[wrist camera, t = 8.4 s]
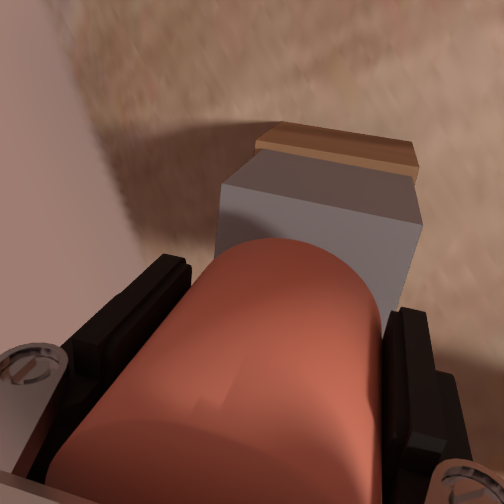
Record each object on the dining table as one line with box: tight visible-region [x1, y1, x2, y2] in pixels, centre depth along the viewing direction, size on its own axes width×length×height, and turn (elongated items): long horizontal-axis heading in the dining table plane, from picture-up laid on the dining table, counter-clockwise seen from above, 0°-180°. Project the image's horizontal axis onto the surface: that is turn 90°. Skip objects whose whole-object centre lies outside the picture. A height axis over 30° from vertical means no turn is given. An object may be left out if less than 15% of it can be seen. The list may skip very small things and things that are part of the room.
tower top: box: [214, 149, 423, 339], centre depth 15 cm, size 6×6×5 cm
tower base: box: [254, 121, 419, 185], centre depth 20 cm, size 6×6×5 cm
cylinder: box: [45, 238, 382, 504], centre depth 9 cm, size 5×5×6 cm
